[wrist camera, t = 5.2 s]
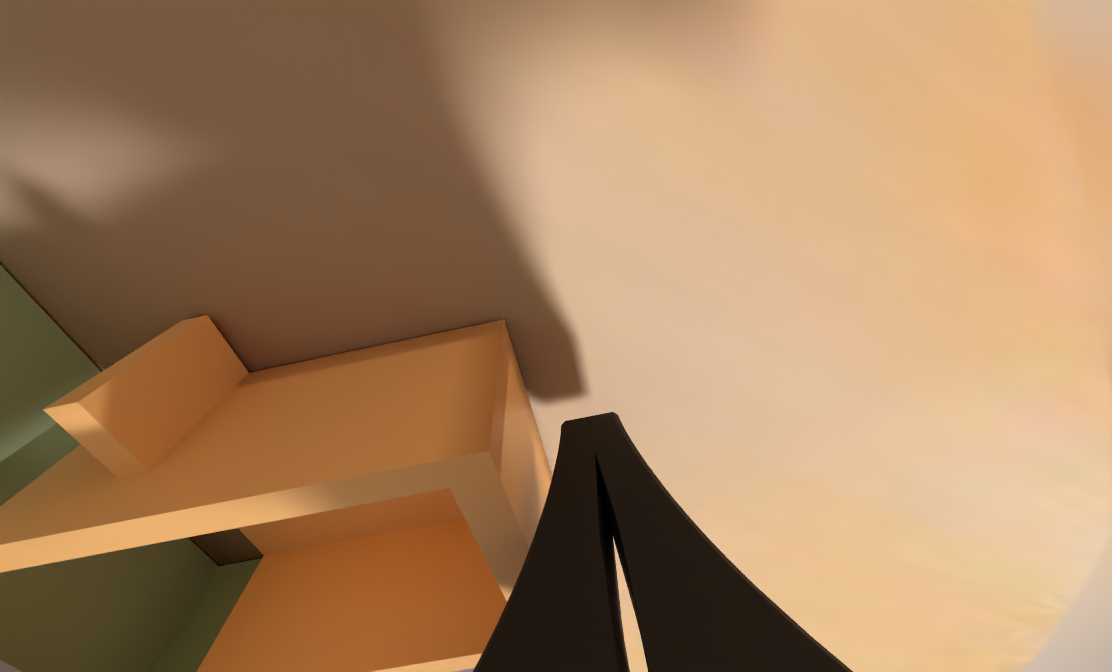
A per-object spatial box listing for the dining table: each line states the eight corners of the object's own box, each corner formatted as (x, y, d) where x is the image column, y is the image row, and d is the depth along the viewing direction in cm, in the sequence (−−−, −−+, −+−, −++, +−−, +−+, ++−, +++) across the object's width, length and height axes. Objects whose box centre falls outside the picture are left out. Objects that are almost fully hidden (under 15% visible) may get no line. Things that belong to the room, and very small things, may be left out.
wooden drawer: (568, 529, 14) (582, 682, 10) (309, 575, 14) (235, 737, 10) (484, 254, 9) (453, 361, 5) (94, 339, 9) (-179, 490, 6)
